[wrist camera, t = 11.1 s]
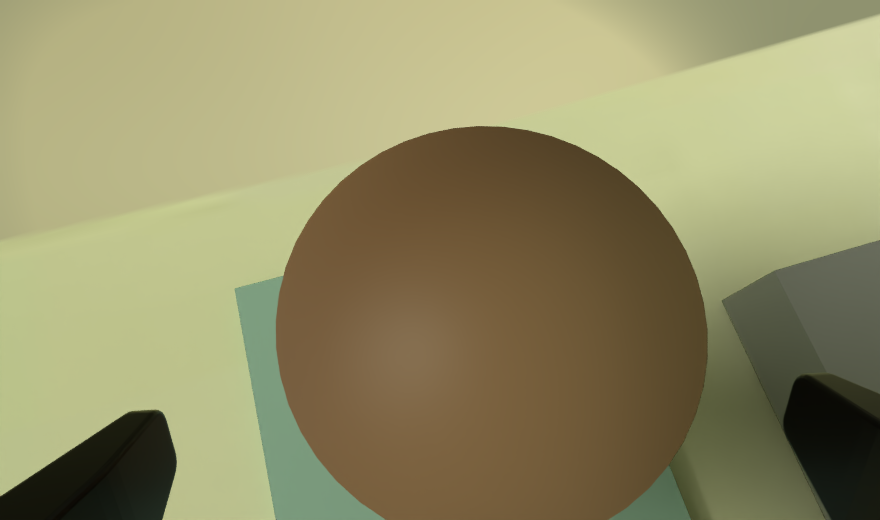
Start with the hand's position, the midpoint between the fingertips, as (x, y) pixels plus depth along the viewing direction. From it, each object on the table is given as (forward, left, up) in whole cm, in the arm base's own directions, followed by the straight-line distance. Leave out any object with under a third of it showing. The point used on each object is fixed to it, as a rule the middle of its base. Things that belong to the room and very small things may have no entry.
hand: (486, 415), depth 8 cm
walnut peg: (+1, 0, -9) cm, 9 cm away
